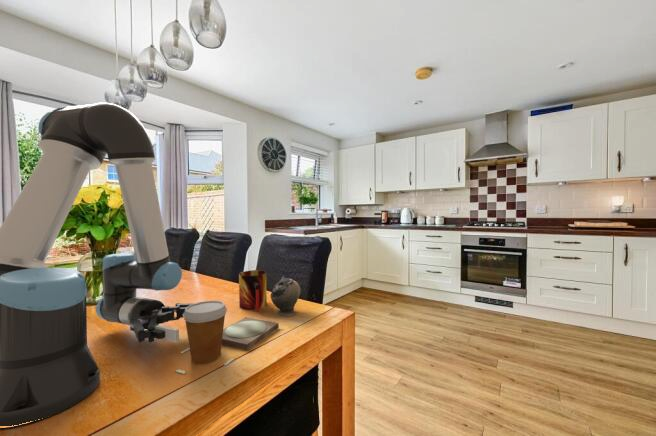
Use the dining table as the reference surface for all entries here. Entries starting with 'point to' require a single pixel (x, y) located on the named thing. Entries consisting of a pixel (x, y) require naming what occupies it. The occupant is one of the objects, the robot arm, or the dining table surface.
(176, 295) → the dining table surface
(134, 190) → the robot arm
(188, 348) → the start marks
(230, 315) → the dining table surface
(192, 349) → the disposable coffee cup
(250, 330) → the board
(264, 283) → the mug
